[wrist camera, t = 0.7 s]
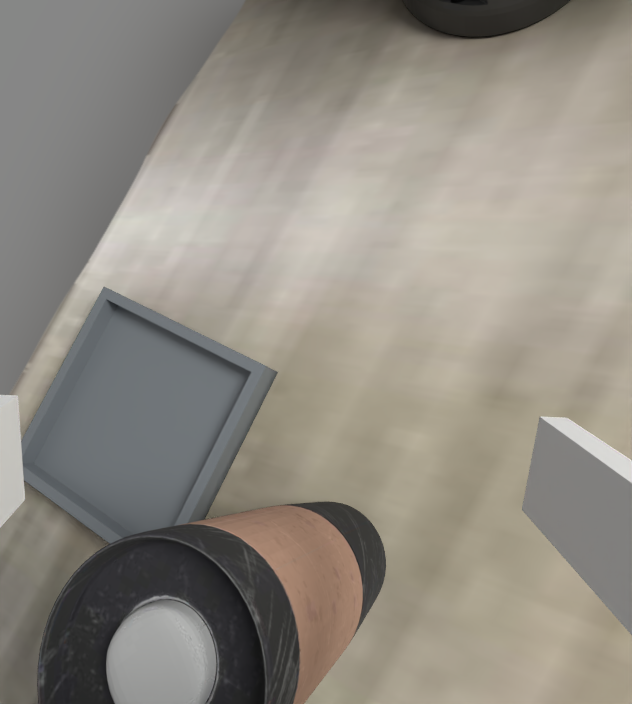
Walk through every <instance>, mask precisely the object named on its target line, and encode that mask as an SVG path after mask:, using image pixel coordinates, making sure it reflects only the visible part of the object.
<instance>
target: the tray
mask: <svg viewBox="0 0 632 704" xmlns="http://www.w3.org/2000/svg"><path fill="white" fill-rule="evenodd" d="M277 373H278V372H276V371H274V370H273V369H271V368H269V367H267V366H265V365H263V364H261V363H259V362H257V361H254V360H252V359H250V358H248V357H246V356H244V355H242V354H240V353H238V352H236V351H234V350H232V349H230V348H228V347H226V346H224V345H222V344H220V343H218V342H216V341H214V340H212V339H210V338H208V337H206V336H204V335H202V334H200V333H198V332H195V331H193V330H191V329H189V328H187V327H185V326H183V325H181V324H179V323H177V322H175V321H173V320H171V319H169V318H167V317H165V316H163V315H161V314H159V313H157V312H155V311H153V310H151V309H149V308H147V307H145V306H143V305H141V304H138V303H136V302H134V301H132V300H130V299H128V298H126V297H124V296H122V295H120V294H118V293H116V292H114V291H112V290H110V289H108V288H106V287H103V289H102V291H101V293H100V295H99V297H98V299H97V301H96V302H95V304H94V306H93V308H92V310H91V312H90V314H89V315H88V317H87V319H86V321H85V323H84V325H83V327H82V329H81V330H80V332H79V334H78V336H77V338H76V340H75V342H74V344H73V345H72V347H71V349H70V351H69V353H68V355H67V357H66V358H65V360H64V362H63V364H62V366H61V368H60V370H59V372H58V373H57V375H56V377H55V379H54V381H53V383H52V385H51V387H50V388H49V390H48V392H47V394H46V396H45V398H44V400H43V401H42V403H41V405H40V407H39V409H38V411H37V413H36V415H35V416H34V418H33V420H32V422H31V424H30V426H29V428H28V430H27V431H26V433H25V435H24V437H23V439H22V441H21V448H22V463H23V477H24V481H26V482H27V483H29V484H30V485H31V486H33V487H34V488H35V489H37V490H38V491H39V492H41V493H42V494H43V495H45V496H46V497H47V498H49V499H50V500H52V501H53V502H54V503H56V504H57V505H58V506H60V507H61V508H62V509H64V510H65V511H66V512H68V513H69V514H71V515H72V516H73V517H75V518H76V519H77V520H79V521H80V522H81V523H83V524H84V525H85V526H87V527H88V528H89V529H91V530H92V531H94V532H95V533H96V534H98V535H99V536H100V537H102V538H103V539H104V540H106V541H107V542H108V543H110V544H111V543H113V542H115V541H117V540H119V539H122V538H124V537H127V536H130V535H134V534H138V533H141V532H146V531H151V530H156V529H161V528H166V527H171V526H176V525H181V524H186V523H191V522H196V521H201V520H204V519H205V517H206V515H207V513H208V511H209V509H210V507H211V505H212V503H213V501H214V499H215V497H216V495H217V493H218V491H219V489H220V487H221V485H222V483H223V481H224V479H225V477H226V475H227V473H228V471H229V469H230V467H231V465H232V463H233V461H234V459H235V457H236V455H237V453H238V451H239V449H240V447H241V445H242V443H243V441H244V439H245V437H246V435H247V433H248V431H249V429H250V427H251V425H252V423H253V421H254V419H255V417H256V415H257V413H258V411H259V409H260V407H261V405H262V403H263V401H264V399H265V397H266V395H267V393H268V391H269V389H270V387H271V385H272V383H273V381H274V379H275V377H276V375H277Z"/></svg>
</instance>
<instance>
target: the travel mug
mask: <svg viewBox="0 0 632 704" xmlns="http://www.w3.org/2000/svg"><path fill="white" fill-rule="evenodd" d="M385 570H386V558H385V551H384V547H383V543H382V541H381V538H380V536H379V534H378V532H377V530H376V529H375V527H374V526H373V525H372V523H371V522H370V521H369V520H368V519H367V518H366V517H365V516H364V515H363V514H362V513H360V512H359V511H357V510H356V509H354V508H352V507H350V506H348V505H345V504H341V503H336V502H315V503H303V504H290V505H280V506H271V507H266V508H261V509H256V510H251V511H246V512H241V513H236V514H231V515H226V516H221V517H216V518H211V519H206V520H201V521H196V522H191V523H186V524H181V525H176V526H171V527H166V528H161V529H156V530H151V531H146V532H141V533H138V534H134V535H130V536H127V537H124V538H122V539H119V540H117V541H115V542H113V543H111V544H109V545H107V546H105V547H104V548H102V549H101V550H99V551H97V552H96V553H95V554H94V555H92V556H91V557H90V558H89V559H88V560H86V561H85V562H84V563H83V564H82V565H81V566H80V568H79V569H78V570H77V571H76V572H75V573H74V574H73V575H72V577H71V578H70V579H69V581H68V582H67V583H66V585H65V586H64V588H63V589H62V591H61V593H60V595H59V596H58V598H57V600H56V602H55V604H54V606H53V609H52V611H51V613H50V615H49V618H48V621H47V624H46V627H45V631H44V634H43V639H42V643H41V648H40V654H39V663H38V683H37V687H38V702H39V704H304V703H305V702H306V700H307V699H308V698H309V696H310V695H311V694H312V692H313V691H314V690H315V688H316V687H317V686H318V685H319V683H320V682H321V681H322V679H323V678H324V677H325V675H326V674H327V673H328V671H329V670H330V669H331V667H332V666H333V665H334V663H335V662H336V661H337V660H338V658H339V657H340V656H341V654H342V653H343V652H344V650H345V649H346V647H347V646H348V645H349V643H350V642H351V640H352V638H353V637H354V635H355V633H356V632H357V630H358V628H359V627H360V625H361V623H362V622H363V620H364V618H365V617H366V615H367V613H368V612H369V610H370V608H371V607H372V605H373V603H374V601H375V600H376V598H377V596H378V594H379V592H380V590H381V587H382V584H383V581H384V577H385Z"/></svg>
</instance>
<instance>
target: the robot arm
mask: <svg viewBox="0 0 632 704" xmlns="http://www.w3.org/2000/svg"><path fill="white" fill-rule="evenodd" d="M569 1H570V0H403V2H404V3H405V5H406V6H407V8H408V9H409V10H410V12H411V13H412V14H413V15H414V16H415V17H416V18H418V19H419V20H420V21H421V22H423V23H424V24H426V25H428V26H430V27H432V28H434V29H436V30H439V31H442V32H445V33H449V34H453V35H459V36H472V37H476V36H491V35H498V34H503V33H507V32H511V31H515V30H518V29H521V28H524V27H526V26H529V25H531V24H533V23H536V22H538V21H540V20H542V19H544V18H546V17H547V16H549V15H551V14H552V13H554V12H555V11H557V10H558V9H560V8H561V7H563V6H564V5H565V4H566V3H568V2H569ZM24 500H25V492H24V477H23V463H22V448H21V434H20V419H19V404H18V396H14V395H0V528H1V526H2V525H3V524H4V523H5V522H6V521H7V520H8V518H9V517H10V516H11V515H12V514H13V513H14V512H15V510H16V509H17V508H18V507H19V506H20V505H21V504H22V502H23V501H24ZM522 510H523V511H524V513H525V514H526V515H527V516H528V517H529V518H530V519H531V521H532V522H533V523H534V524H535V525H536V526H537V527H538V529H539V530H540V531H541V532H542V533H543V534H544V535H545V537H546V538H547V539H548V540H549V541H550V542H551V543H552V545H553V546H554V547H555V548H556V549H557V550H558V551H559V553H560V554H561V555H562V556H563V557H564V558H565V559H566V561H567V562H568V563H569V564H570V565H571V566H572V567H573V569H574V570H575V571H576V572H577V573H578V574H579V575H580V577H581V578H582V579H583V580H584V581H585V582H586V583H587V585H588V586H589V587H590V588H591V589H592V590H593V591H594V592H595V594H596V595H597V596H598V597H599V598H600V599H601V600H602V602H603V603H604V604H605V605H606V606H607V607H608V608H609V610H610V611H611V612H612V613H613V614H614V615H615V616H616V618H617V619H618V620H619V621H620V622H621V623H622V624H623V626H624V627H625V628H626V629H627V630H628V631H629V632H630V634H631V635H632V460H630V459H629V458H627V457H626V456H624V455H623V454H621V453H620V452H618V451H617V450H615V449H614V448H612V447H611V446H609V445H608V444H606V443H604V442H603V441H601V440H600V439H598V438H597V437H595V436H594V435H592V434H591V433H589V432H588V431H586V430H585V429H583V428H582V427H580V426H579V425H577V424H576V423H574V422H573V421H571V420H570V419H568V418H561V417H540V418H539V423H538V428H537V434H536V439H535V444H534V449H533V454H532V460H531V465H530V470H529V475H528V480H527V486H526V491H525V496H524V501H523V506H522Z"/></svg>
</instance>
